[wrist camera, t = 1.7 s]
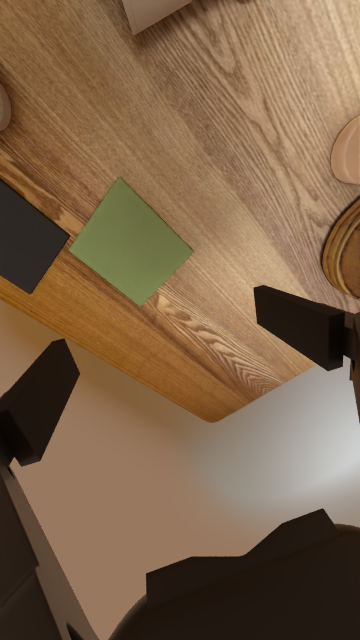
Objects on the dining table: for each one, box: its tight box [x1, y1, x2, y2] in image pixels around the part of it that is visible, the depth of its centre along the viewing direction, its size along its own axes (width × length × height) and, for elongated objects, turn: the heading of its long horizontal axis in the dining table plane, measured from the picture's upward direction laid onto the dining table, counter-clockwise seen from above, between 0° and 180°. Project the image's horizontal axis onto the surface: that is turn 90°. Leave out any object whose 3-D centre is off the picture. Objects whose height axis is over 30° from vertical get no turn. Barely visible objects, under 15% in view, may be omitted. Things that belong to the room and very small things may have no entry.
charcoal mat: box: [0, 179, 70, 294], centre depth 35 cm, size 15×14×1 cm
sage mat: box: [69, 177, 194, 306], centre depth 37 cm, size 15×14×1 cm
